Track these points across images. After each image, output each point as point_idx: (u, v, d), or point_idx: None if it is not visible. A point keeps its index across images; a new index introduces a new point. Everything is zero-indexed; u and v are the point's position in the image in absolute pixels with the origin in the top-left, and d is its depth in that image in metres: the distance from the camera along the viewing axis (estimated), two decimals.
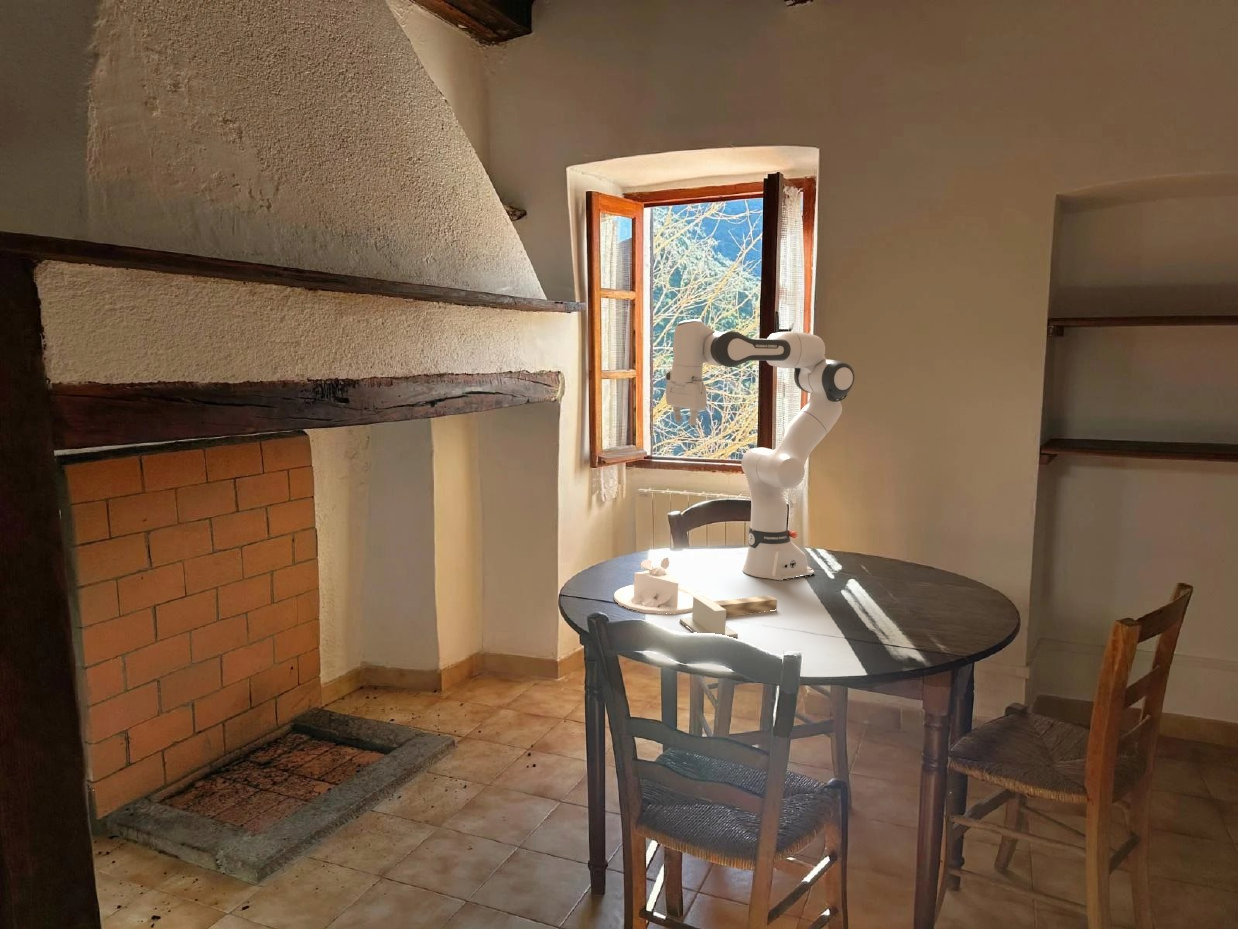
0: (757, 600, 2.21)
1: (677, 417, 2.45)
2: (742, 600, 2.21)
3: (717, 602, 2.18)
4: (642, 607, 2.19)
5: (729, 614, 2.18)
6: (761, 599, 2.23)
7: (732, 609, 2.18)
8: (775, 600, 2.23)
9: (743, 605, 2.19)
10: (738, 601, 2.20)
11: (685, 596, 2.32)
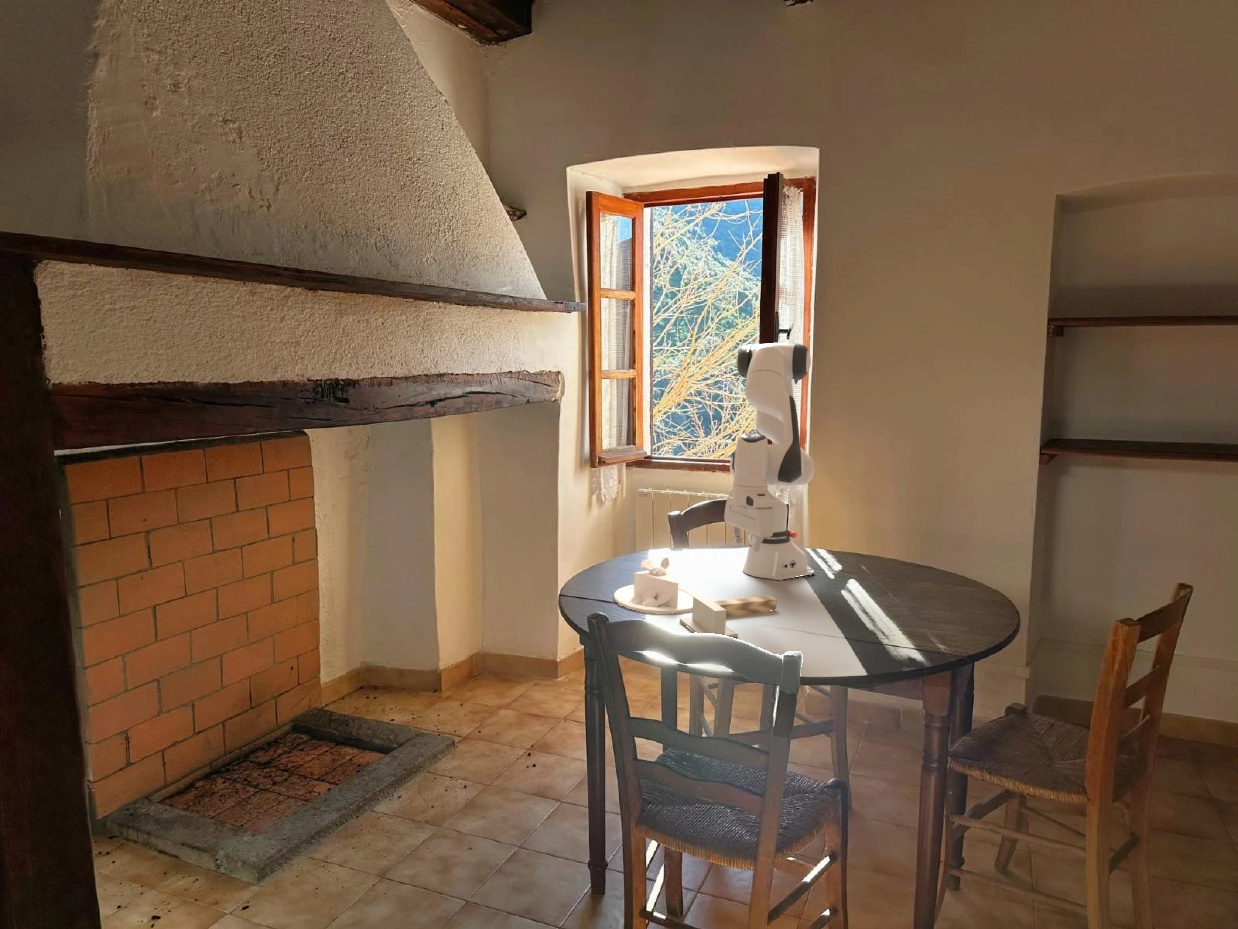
0: (757, 600, 2.21)
1: None
2: (742, 600, 2.21)
3: (717, 602, 2.18)
4: (642, 607, 2.19)
5: (729, 614, 2.18)
6: (761, 599, 2.23)
7: (732, 609, 2.18)
8: (775, 600, 2.23)
9: (742, 605, 2.19)
10: (737, 601, 2.20)
11: (685, 596, 2.32)
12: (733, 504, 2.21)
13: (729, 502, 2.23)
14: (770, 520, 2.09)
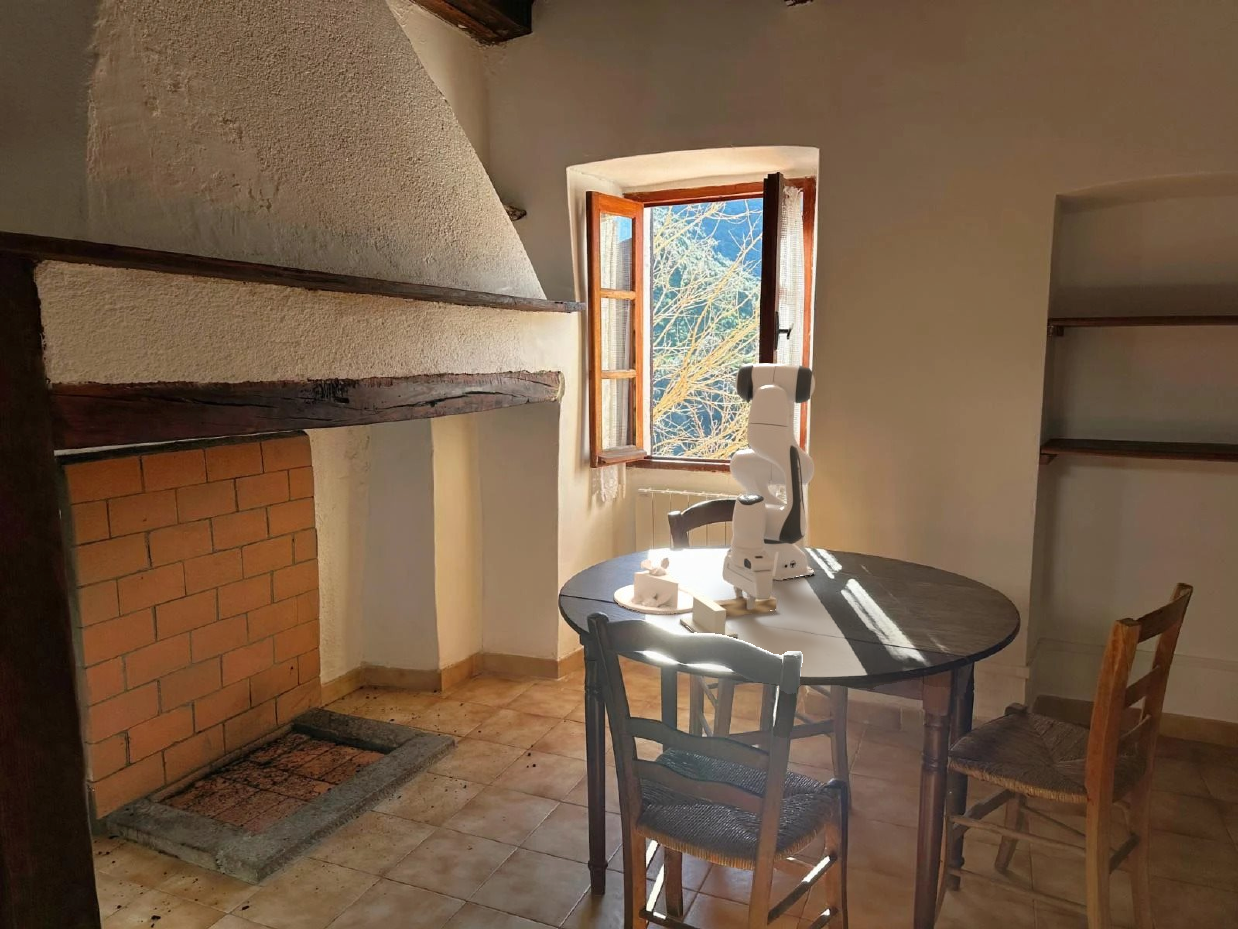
0: (757, 600, 2.21)
1: None
2: (742, 600, 2.21)
3: (717, 602, 2.18)
4: (642, 607, 2.19)
5: (729, 614, 2.18)
6: None
7: (732, 609, 2.18)
8: (775, 600, 2.23)
9: (742, 604, 2.19)
10: (737, 600, 2.20)
11: (685, 596, 2.32)
12: (731, 563, 2.24)
13: (727, 561, 2.25)
14: (767, 583, 2.11)
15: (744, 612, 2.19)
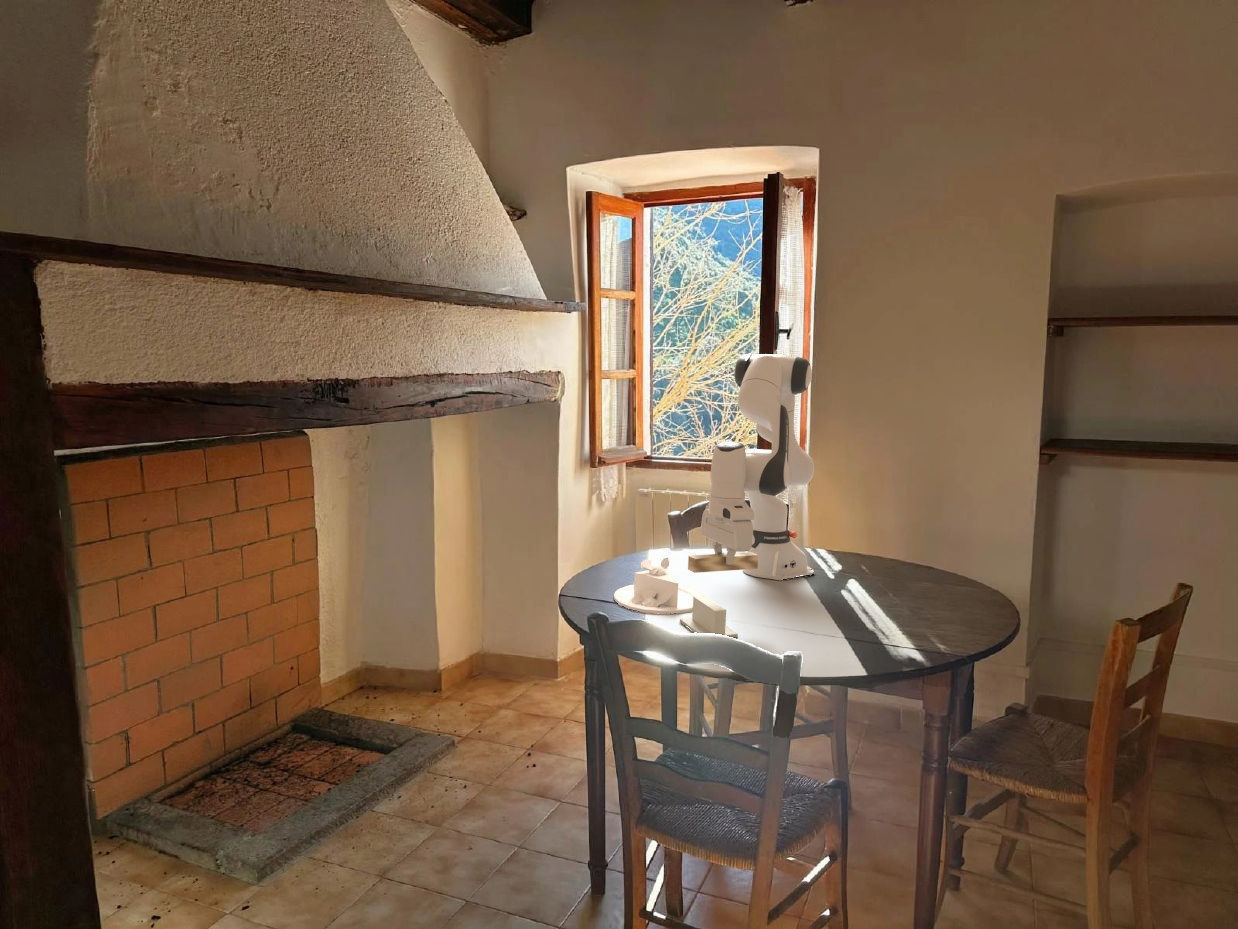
0: (737, 555, 2.08)
1: None
2: (721, 555, 2.07)
3: (694, 556, 2.05)
4: (642, 607, 2.19)
5: (707, 569, 2.04)
6: (741, 554, 2.09)
7: (710, 563, 2.04)
8: (756, 556, 2.09)
9: (721, 559, 2.05)
10: (716, 555, 2.07)
11: (685, 596, 2.32)
12: (710, 517, 2.10)
13: (706, 515, 2.12)
14: (748, 533, 1.98)
15: (723, 568, 2.06)
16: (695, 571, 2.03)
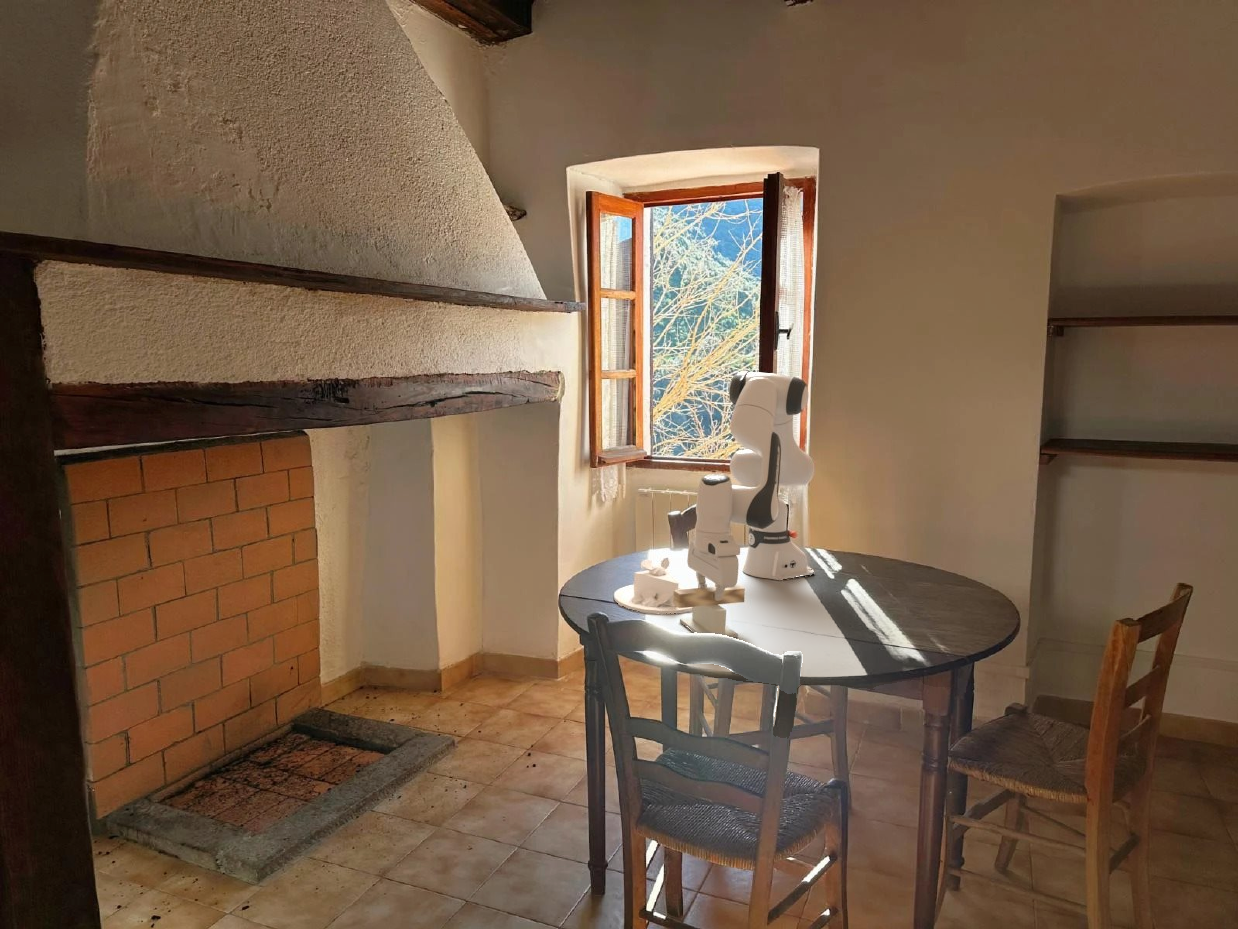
0: None
1: None
2: (707, 589, 2.05)
3: (679, 591, 2.03)
4: (642, 607, 2.19)
5: (692, 604, 2.02)
6: (728, 588, 2.07)
7: (695, 599, 2.02)
8: (743, 589, 2.06)
9: (707, 594, 2.03)
10: (702, 590, 2.04)
11: None
12: (696, 549, 2.07)
13: (692, 546, 2.09)
14: (733, 569, 1.95)
15: (709, 602, 2.03)
16: (680, 607, 2.01)
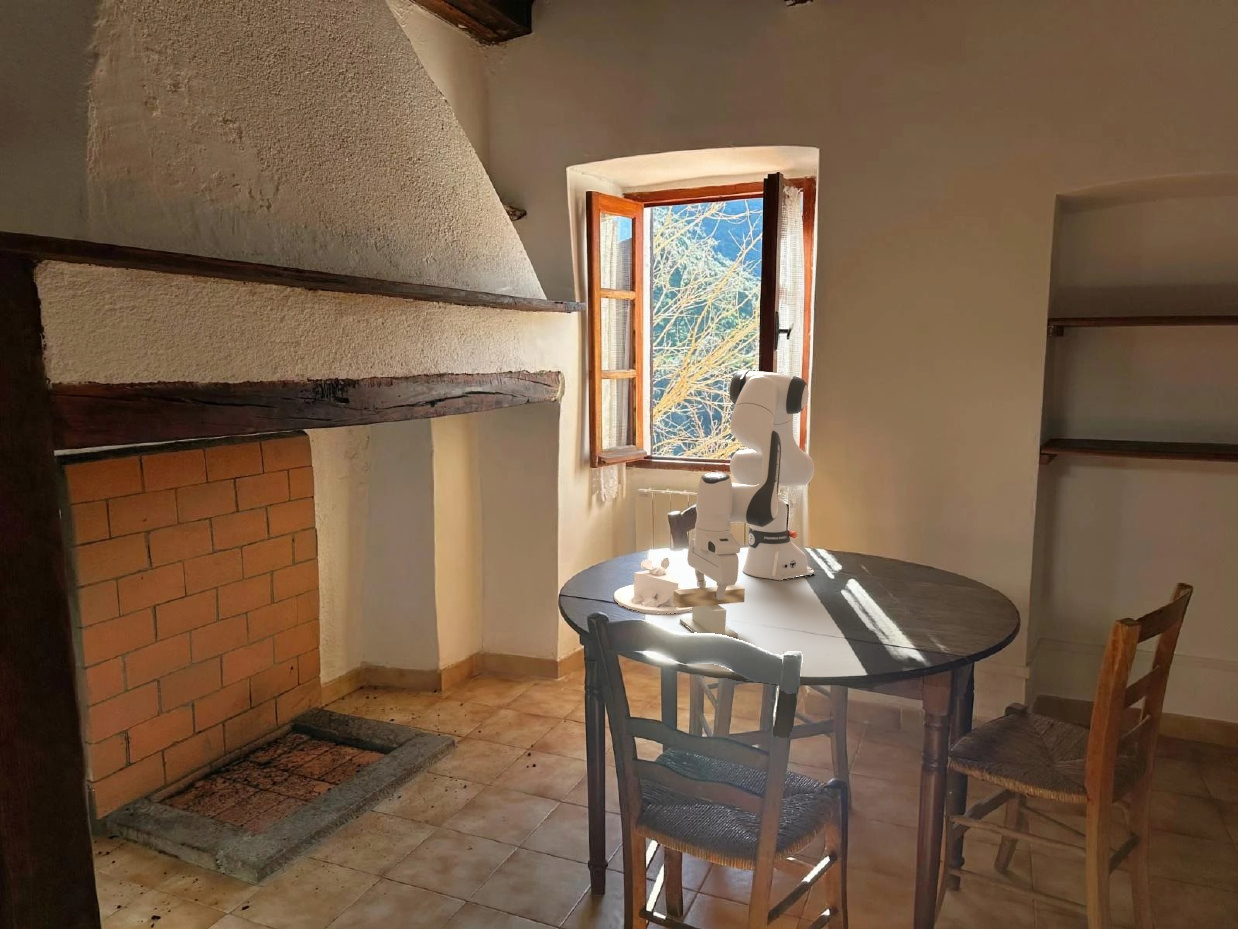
0: None
1: None
2: (707, 589, 2.05)
3: (679, 591, 2.03)
4: (642, 607, 2.19)
5: (692, 604, 2.02)
6: (728, 588, 2.07)
7: (695, 599, 2.02)
8: (743, 589, 2.06)
9: (707, 594, 2.03)
10: (702, 590, 2.04)
11: None
12: (696, 547, 2.07)
13: (692, 544, 2.09)
14: (733, 567, 1.95)
15: (709, 602, 2.03)
16: (680, 607, 2.01)
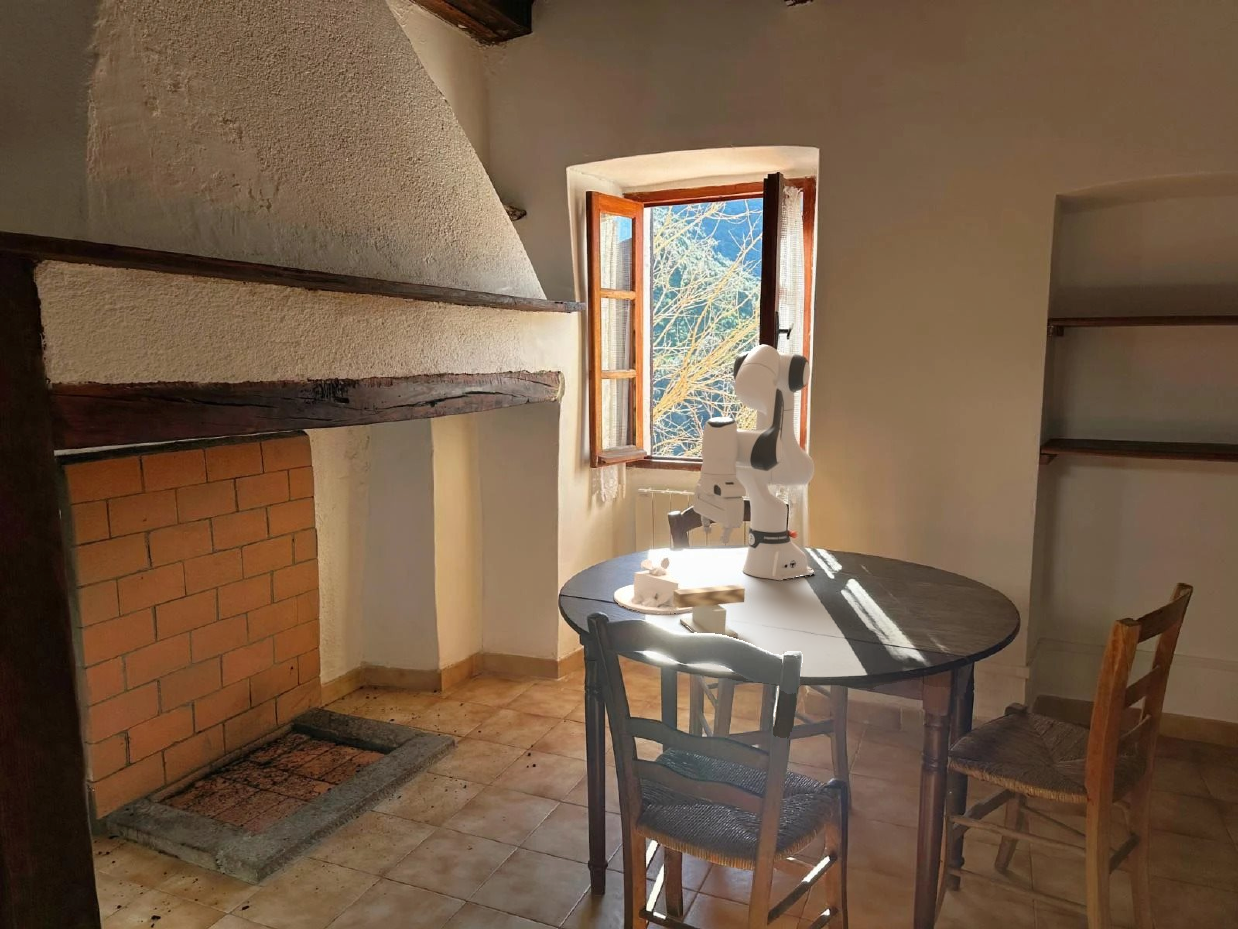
0: (723, 589, 2.05)
1: None
2: (707, 589, 2.05)
3: (679, 591, 2.03)
4: (642, 607, 2.19)
5: (692, 604, 2.02)
6: (728, 588, 2.07)
7: (695, 599, 2.02)
8: (743, 589, 2.06)
9: (707, 594, 2.03)
10: (702, 590, 2.04)
11: None
12: (701, 492, 2.08)
13: (698, 490, 2.10)
14: (738, 510, 1.96)
15: (709, 602, 2.03)
16: (680, 607, 2.01)
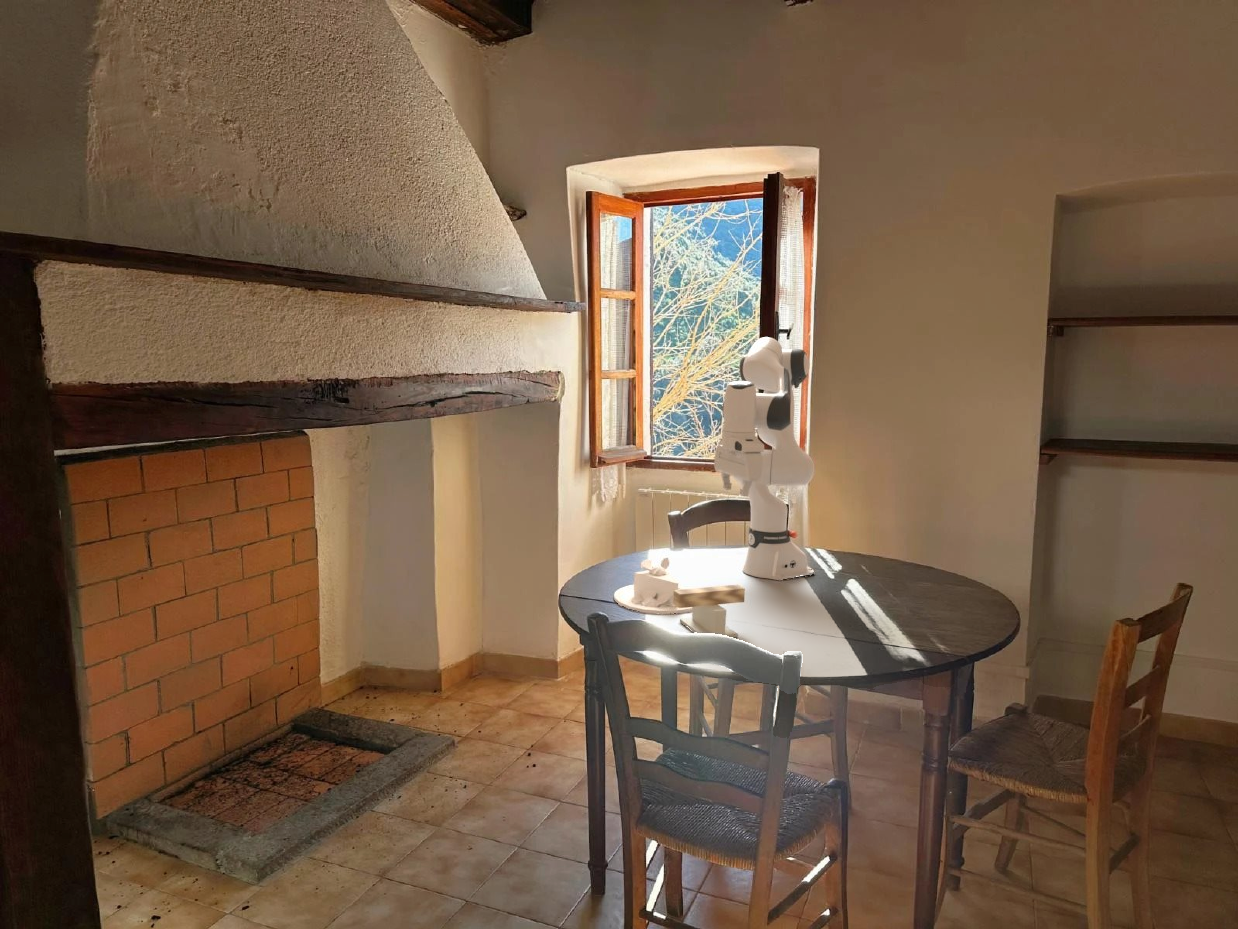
0: (723, 589, 2.05)
1: None
2: (707, 589, 2.05)
3: (679, 591, 2.03)
4: (642, 607, 2.19)
5: (692, 604, 2.02)
6: (728, 588, 2.07)
7: (695, 599, 2.02)
8: (743, 589, 2.06)
9: (707, 594, 2.03)
10: (702, 590, 2.04)
11: None
12: (722, 451, 2.27)
13: (719, 450, 2.28)
14: (758, 464, 2.14)
15: (709, 602, 2.03)
16: (680, 607, 2.01)
